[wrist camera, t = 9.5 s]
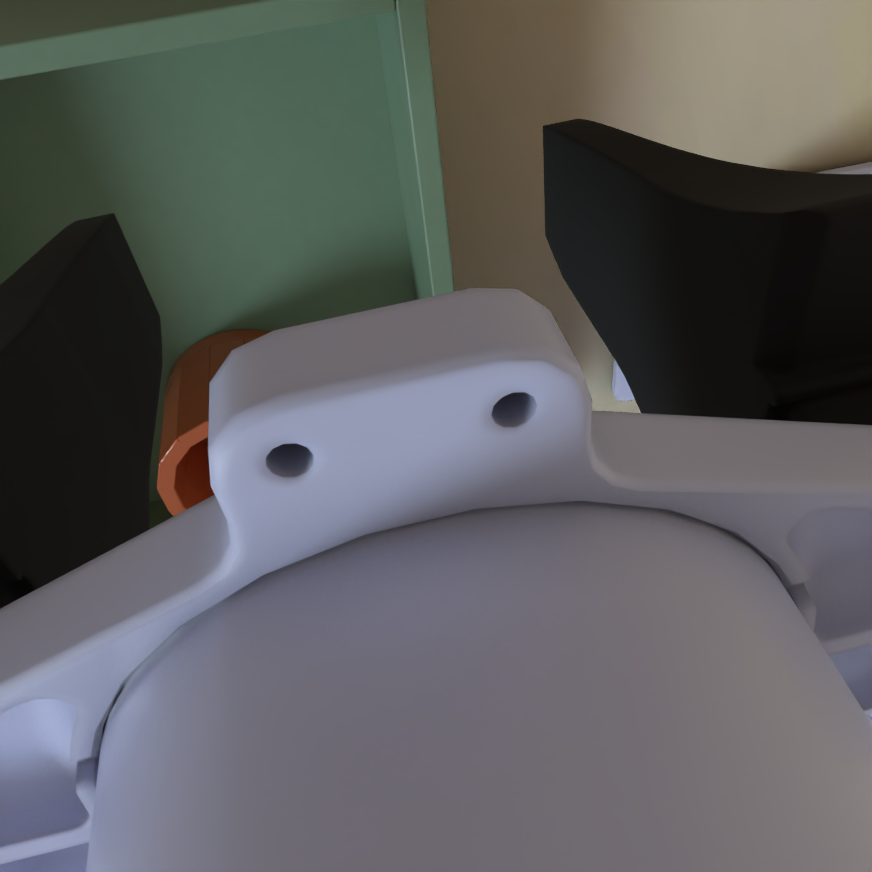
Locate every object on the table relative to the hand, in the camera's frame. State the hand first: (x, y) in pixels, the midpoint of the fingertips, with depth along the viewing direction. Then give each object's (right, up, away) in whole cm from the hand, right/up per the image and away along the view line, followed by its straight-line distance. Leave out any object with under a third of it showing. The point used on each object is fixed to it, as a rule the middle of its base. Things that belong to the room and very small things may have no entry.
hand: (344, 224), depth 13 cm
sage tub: (-5, +1, +11) cm, 12 cm away
